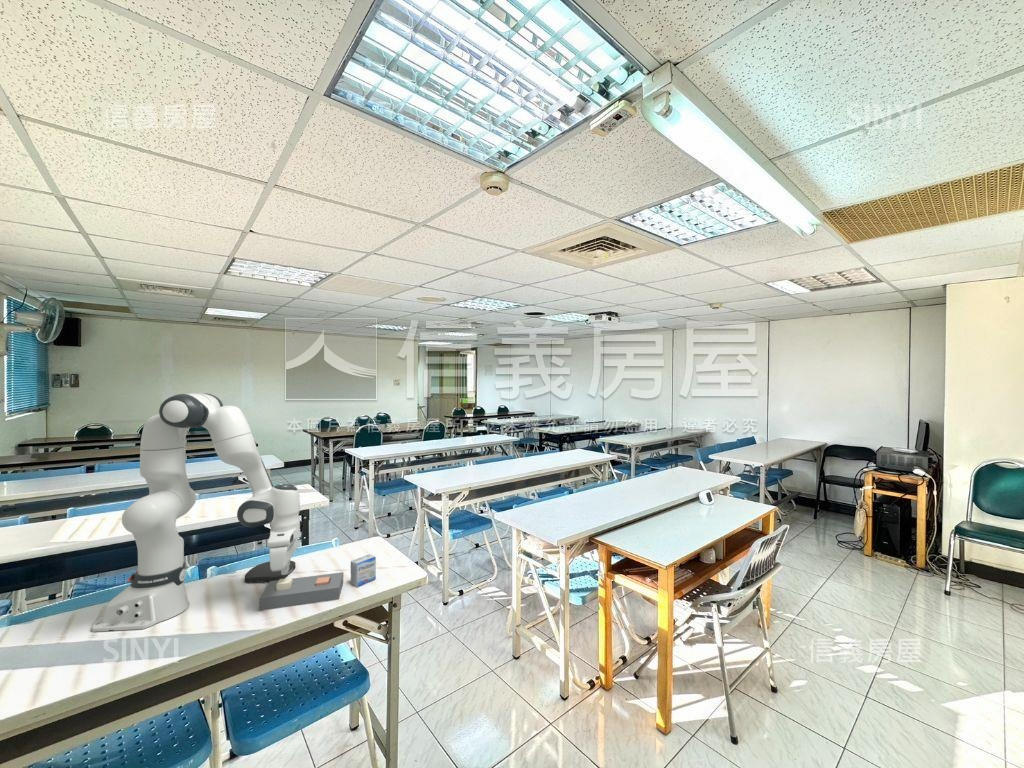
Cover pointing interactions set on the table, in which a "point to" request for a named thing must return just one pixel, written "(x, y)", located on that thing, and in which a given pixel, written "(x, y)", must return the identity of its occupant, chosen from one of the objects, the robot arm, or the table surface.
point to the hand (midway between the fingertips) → (285, 572)
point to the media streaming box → (266, 573)
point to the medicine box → (363, 570)
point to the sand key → (284, 584)
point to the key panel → (301, 592)
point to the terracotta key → (323, 581)
